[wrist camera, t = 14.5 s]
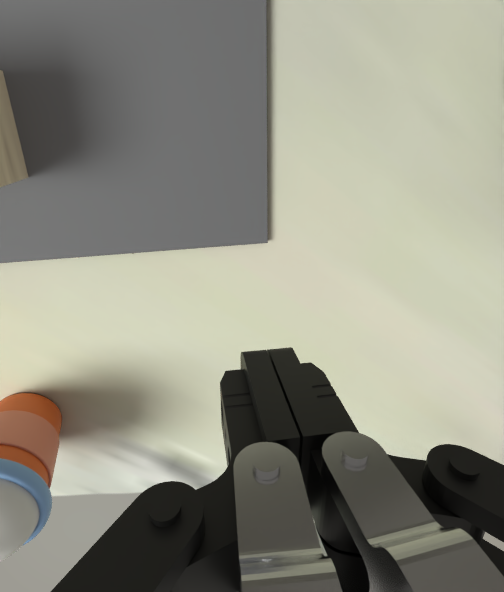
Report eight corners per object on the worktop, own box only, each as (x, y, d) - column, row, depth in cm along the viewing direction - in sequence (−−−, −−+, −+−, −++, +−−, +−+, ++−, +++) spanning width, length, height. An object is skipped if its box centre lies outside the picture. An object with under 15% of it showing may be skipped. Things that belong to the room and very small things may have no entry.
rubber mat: (264, -33, 27) (266, -37, 27) (266, 241, 36) (267, 242, 35) (-181, -55, 23) (-190, -59, 22) (-64, 265, 31) (-67, 268, 30)
